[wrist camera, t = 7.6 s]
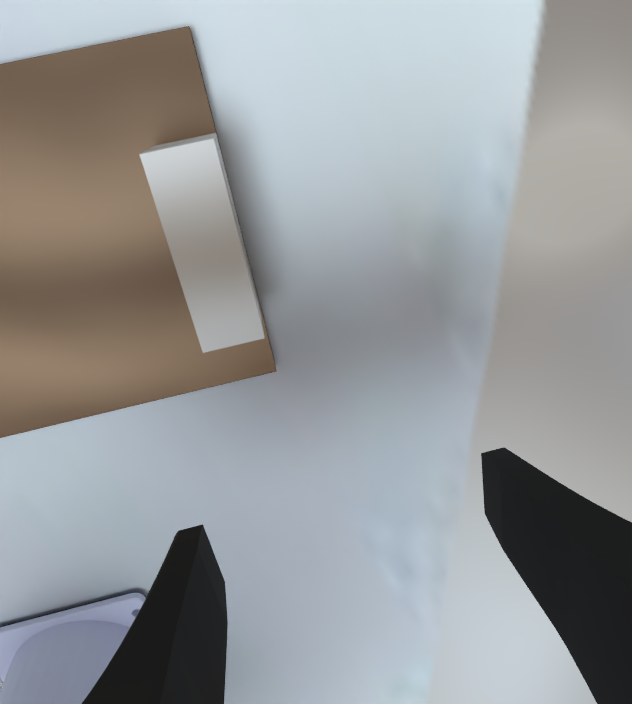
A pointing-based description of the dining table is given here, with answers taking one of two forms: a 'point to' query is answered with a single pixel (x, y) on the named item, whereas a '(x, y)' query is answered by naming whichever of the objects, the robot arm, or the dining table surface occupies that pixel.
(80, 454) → the dining table surface
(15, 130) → the brown wooden flat board
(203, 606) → the robot arm
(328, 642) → the dining table surface
